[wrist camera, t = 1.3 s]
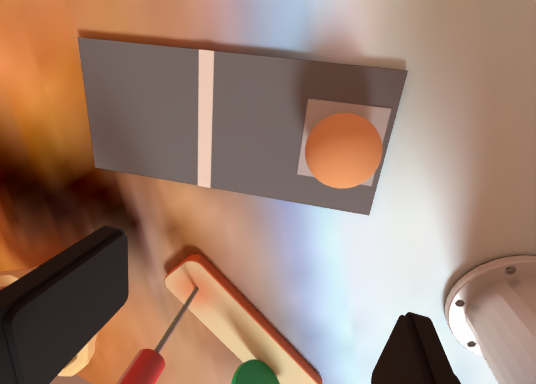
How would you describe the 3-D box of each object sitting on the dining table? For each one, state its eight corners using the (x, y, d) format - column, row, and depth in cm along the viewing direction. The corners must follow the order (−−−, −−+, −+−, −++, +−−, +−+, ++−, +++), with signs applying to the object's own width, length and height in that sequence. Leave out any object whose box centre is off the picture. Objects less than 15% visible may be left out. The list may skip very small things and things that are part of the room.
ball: (383, 114, 24) (400, 123, 18) (367, 180, 26) (377, 206, 21) (313, 105, 25) (308, 112, 19) (302, 170, 27) (296, 192, 22)
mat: (405, 70, 23) (408, 70, 23) (368, 212, 28) (369, 215, 27) (82, 38, 27) (76, 37, 27) (99, 165, 32) (94, 167, 32)
